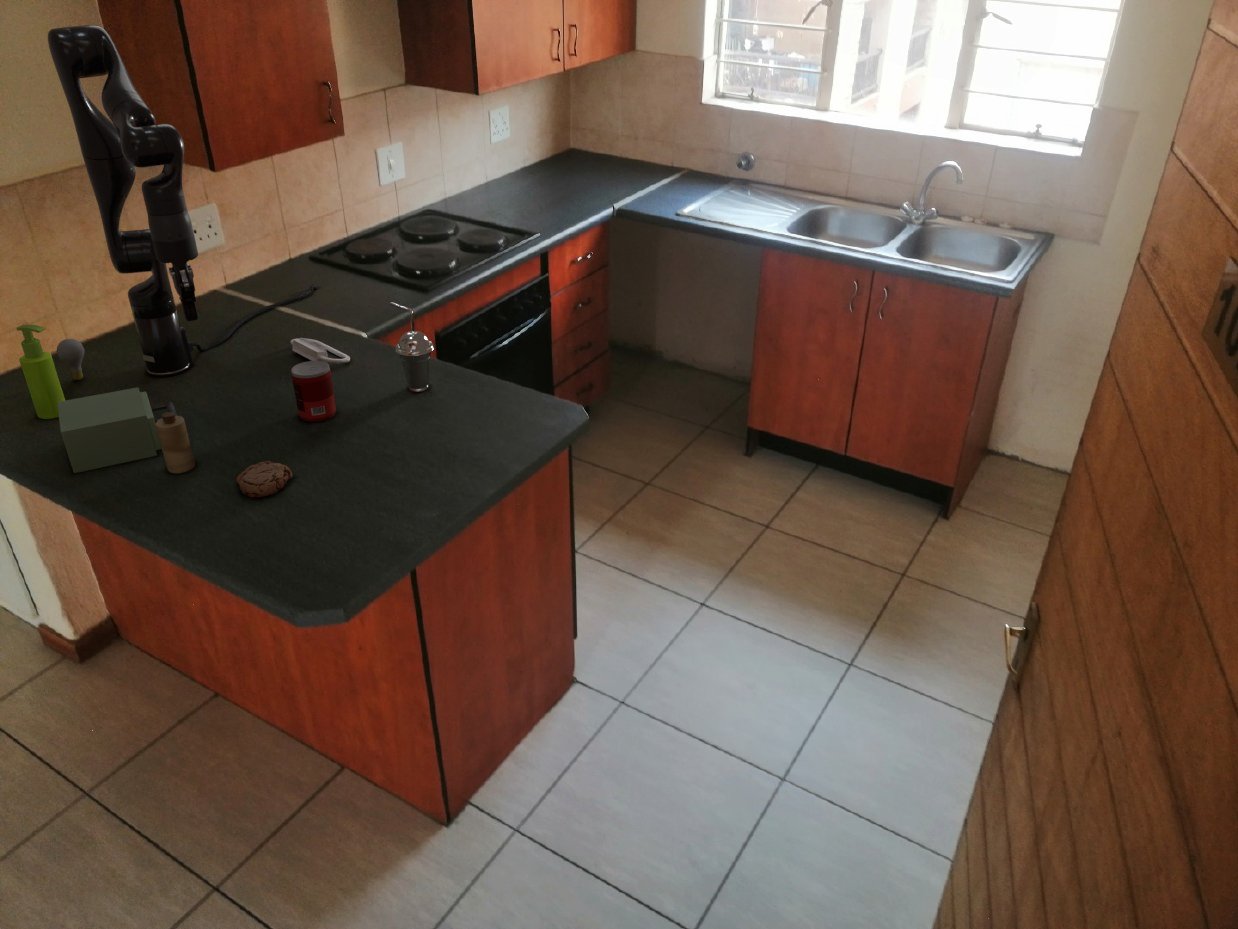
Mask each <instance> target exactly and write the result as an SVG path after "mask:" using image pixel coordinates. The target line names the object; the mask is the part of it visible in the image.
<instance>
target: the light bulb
mask: <svg viewBox="0 0 1238 929" xmlns="http://www.w3.org/2000/svg"><path fill="white" fill-rule="evenodd" d="M56 355H57V356H58V358H59V359H60V360H61V361H62V362H63V363H64V364H66V365H67V366H68V367H69V369H70V372H71V375H72V379H73V380H76V381H81V380H82V379H83V378H84V374H83V369H82V362H83V359H84V356H85V348H84V345H83V344H82V343H81V341H79V340H77V339H74V338H65V339H63V340H61V341H60V342H59V343H58V344H57V347H56Z"/></svg>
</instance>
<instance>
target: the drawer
mask: <svg viewBox="0 0 1238 929" xmlns="http://www.w3.org/2000/svg"><path fill="white" fill-rule="evenodd" d="M140 395H141V398H142V402H143V405H144V409H145V412H146V416H147V419H148V423H149V427H150V431H151V434H152V438H153V442H154V446H155V449H156V451H158V450H162V447H161V443H160V439H159V435H158V432H157V428H156V422H157V421H158V420H160V419H161V418H162V417H161V418H155V416H154V413H153V412H156V411H162V410H167V412H173V413H174V414H175V416H178V414H177V410H176V408H175V405H174V403H173V402H172V401H171V402H170V401H169V402H167V403H166V404H165V405H164V404H163V405H159V406H155V407H152V406H151V403H150V400H149V399H150V398H149V396H148V393H147V391H141V392H140Z"/></svg>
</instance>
